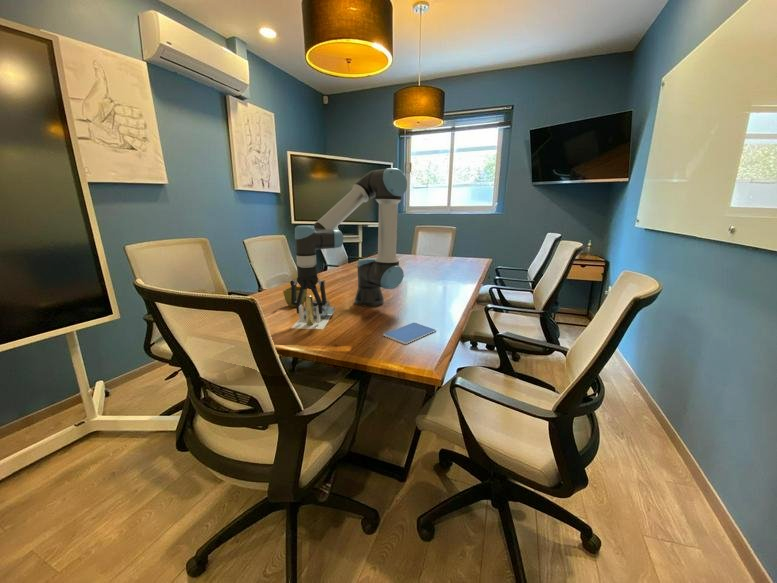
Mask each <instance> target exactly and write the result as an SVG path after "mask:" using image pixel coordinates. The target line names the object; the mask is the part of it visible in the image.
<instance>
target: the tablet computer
mask: <svg viewBox="0 0 777 583" xmlns="http://www.w3.org/2000/svg"><path fill="white" fill-rule="evenodd" d="M433 331H437V329H435V328H431V327H428V326H427V325H424V324H420V323H417V322H411V323H408V324H406V325H403V326H400V327H399V328H395V329H392V330H390V331H387V332H385V333H383V334H382V337H384V336H385V337H384V338H387V337H388V338H387V339H389V338H390V339H389V340H391V339H393V340H392V341H394V340H395V341H394V342H396V341H398V342H397V343H399V342H401V343H403V344H402V345H405V344H406V345H408V343H409V344H411V343H413V342H415V341H417V340H416V339H418V338H420V339H422V338H424V337H423V336H425V335H427V334H429V333H431V332H433ZM429 335H430V334H429ZM427 336H428V335H427ZM421 337H422V338H421ZM425 337H426V336H425ZM414 340H415V341H414ZM418 340H419V339H418ZM412 341H413V342H412ZM410 342H411V343H410ZM401 343H400V344H401Z"/></svg>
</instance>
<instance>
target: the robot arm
mask: <svg viewBox="0 0 777 583" xmlns="http://www.w3.org/2000/svg"><path fill="white" fill-rule="evenodd" d="M407 189H408V179H407V177H406V175H405V174H404V172H403V171H402V170H401V169H399V168H395V167H388V168H381V169H374V170H371V171H369V172H368V173H366V174H365V175H363V176H362V177H361V178H360V179H359V180H358V181H356V182H355V183H354V184H352V189H351V190H350V191H348V192H347V194H345V196H344V197H342V198H341V199H340V200H339V201H337V202H336V204H335V205H333V206H332V207H331V208H330V209H329V210H328V211H327V212H326V213H325V214H323V215H322V217H320V218H319V219H318V220H317V221H316V222H315V223H313V224H312V225H303V224H302V225H296V226H295V228H294V243H295V254H296V255H295V258H296V266H297V267H296V270H297V271H296V273H297V278H296V279H292V280H290V282H289V284H290V287H292V291H291V304H292V305H296V307H295V308H296V314H298V316H299V319H300V322H302V321H303V314H304V309H303V308H304V306H303V305H304V304H303V305H300V304H301V300H302V297H303V293H304V290H305V289H307V290H311V292H312V294H313V298H314V299H315V301H316V302H317V304H318V306H317V307H316V311H317V322H319V321H320V314H322V306H323V305H325V304H326V303H327V301H328V300H327V295H326V288H325V285H326V280H325V279H322V280H321V279H319V278H318V268H317V250H327V249H337V248H341V247H342V246H343V244H344V235H343V233H342V231H341V230H339V229H336V228H338V227H339V225H341V224H342V223H343V222H344V221H345V220H346V218H348V217H349V216H350V215H351V214H352V213H353V212H354V211H355V210H356V209H358V208H359V207H360V206H361V205H362V204H363V203H367V202H368V201H370V200H371V199H373V198H375V201H376V203H378V223H377V224H378V231H377V232H378V233H377V234H378V235H377V256H376V257H369V258H362V259H358V260H357V264H356V265H357V267H356V268H357V291H356V293H355V297H354V304H356V305H357V306H361V307H379V306H381V305H383V304H384V303H385V300H384V295H383V292H382V288H383V289H384V290H395V289H397V288H398V287H400V285H401V284H402V282H403V280H404V275H405V274H404V270H403V269H402V267H401V266H400V260H399V259H398V258H397V243H398V242H397V237H398V234H397V233H398V210H399V208H398V206H399V204H400V203H401V201H402V196H403V195H404V194H405V192H406V191H407ZM297 284H298V285H299V287H300V292H299V295H298V299H297V301H296V287H297ZM317 284H318V285H319V290H320V293H319V292H318V289H317V288H318V287H317ZM320 295H321V297H320ZM299 319H298V320H299Z"/></svg>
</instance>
